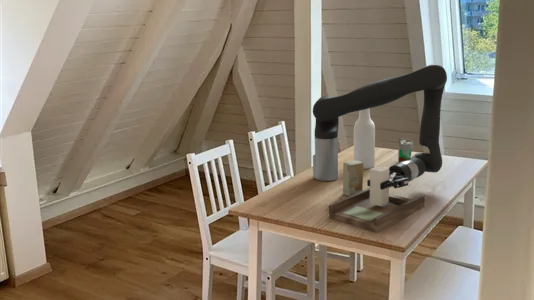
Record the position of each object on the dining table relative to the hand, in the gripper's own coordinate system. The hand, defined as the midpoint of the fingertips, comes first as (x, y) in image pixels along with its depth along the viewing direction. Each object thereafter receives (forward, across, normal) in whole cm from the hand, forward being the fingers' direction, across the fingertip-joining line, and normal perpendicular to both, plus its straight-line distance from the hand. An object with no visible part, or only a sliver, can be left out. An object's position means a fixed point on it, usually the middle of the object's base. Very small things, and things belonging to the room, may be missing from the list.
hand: (374, 185), depth 187 cm
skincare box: (-12, -18, +11) cm, 24 cm away
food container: (-57, -24, +11) cm, 63 cm away
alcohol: (-43, -36, +11) cm, 57 cm away
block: (-3, 0, +7) cm, 8 cm away
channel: (-3, 0, +10) cm, 11 cm away
